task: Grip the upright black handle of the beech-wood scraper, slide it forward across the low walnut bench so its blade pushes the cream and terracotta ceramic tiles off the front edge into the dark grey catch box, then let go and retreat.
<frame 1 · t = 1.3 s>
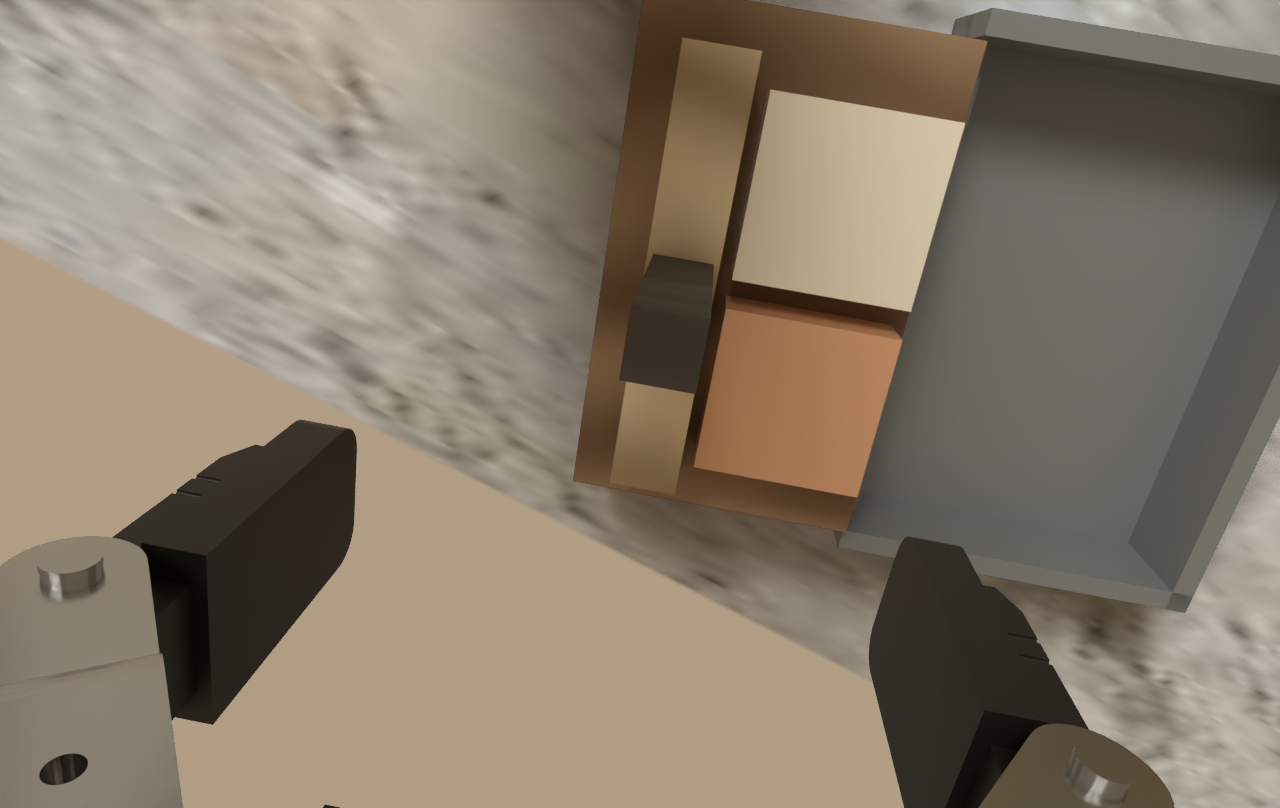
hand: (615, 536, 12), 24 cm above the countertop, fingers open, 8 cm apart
tile 1: (789, 387, 31), point 5 cm above the countertop, touching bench
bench: (751, 260, 34), on the countertop
scraper: (681, 273, 30), point 5 cm above the countertop, touching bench
tile 2: (835, 197, 28), point 5 cm above the countertop, touching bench
catch box: (1053, 313, 34), on the countertop
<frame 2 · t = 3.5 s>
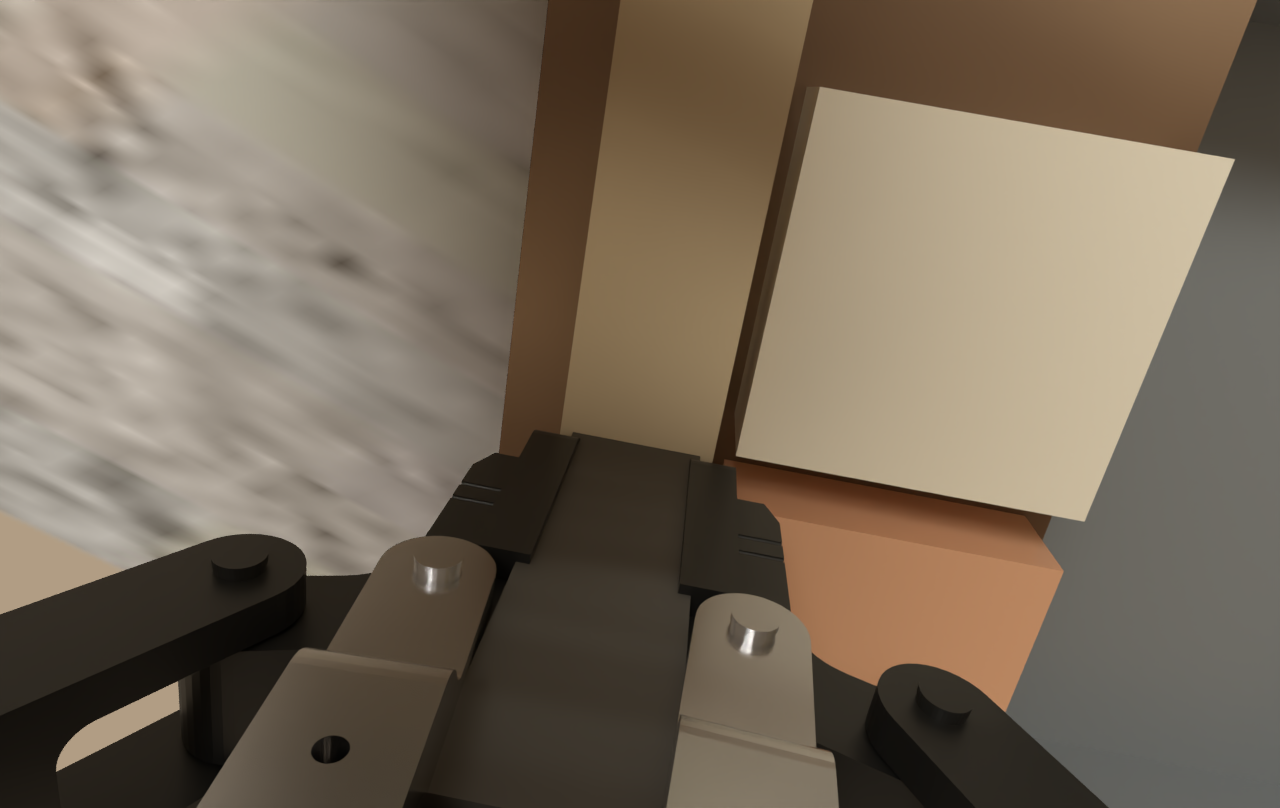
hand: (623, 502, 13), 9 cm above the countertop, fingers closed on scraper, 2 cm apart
tile 1: (836, 612, 17), point 5 cm above the countertop, touching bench
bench: (767, 365, 21), on the countertop
scraper: (641, 438, 15), point 6 cm above the countertop, touching gripper
tile 2: (932, 291, 15), point 5 cm above the countertop, touching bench
catch box: (1264, 457, 20), on the countertop
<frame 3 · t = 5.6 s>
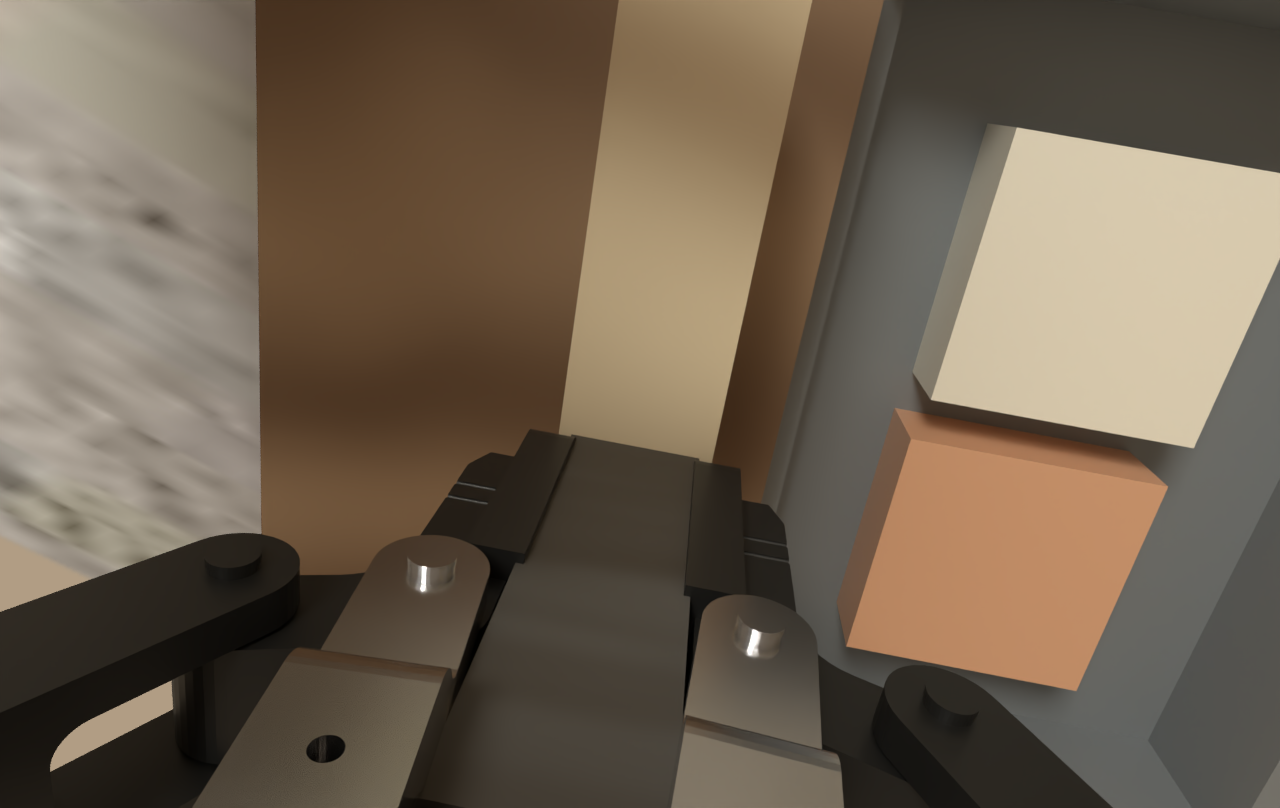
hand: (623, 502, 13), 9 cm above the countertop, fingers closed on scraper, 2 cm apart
tile 1: (997, 571, 20), point 3 cm above the countertop, tilted 180°, touching catch box
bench: (560, 317, 22), on the countertop
scraper: (640, 440, 15), point 7 cm above the countertop, touching gripper
tile 2: (1110, 297, 18), point 3 cm above the countertop, tilted 180°, touching catch box
catch box: (1034, 404, 21), on the countertop
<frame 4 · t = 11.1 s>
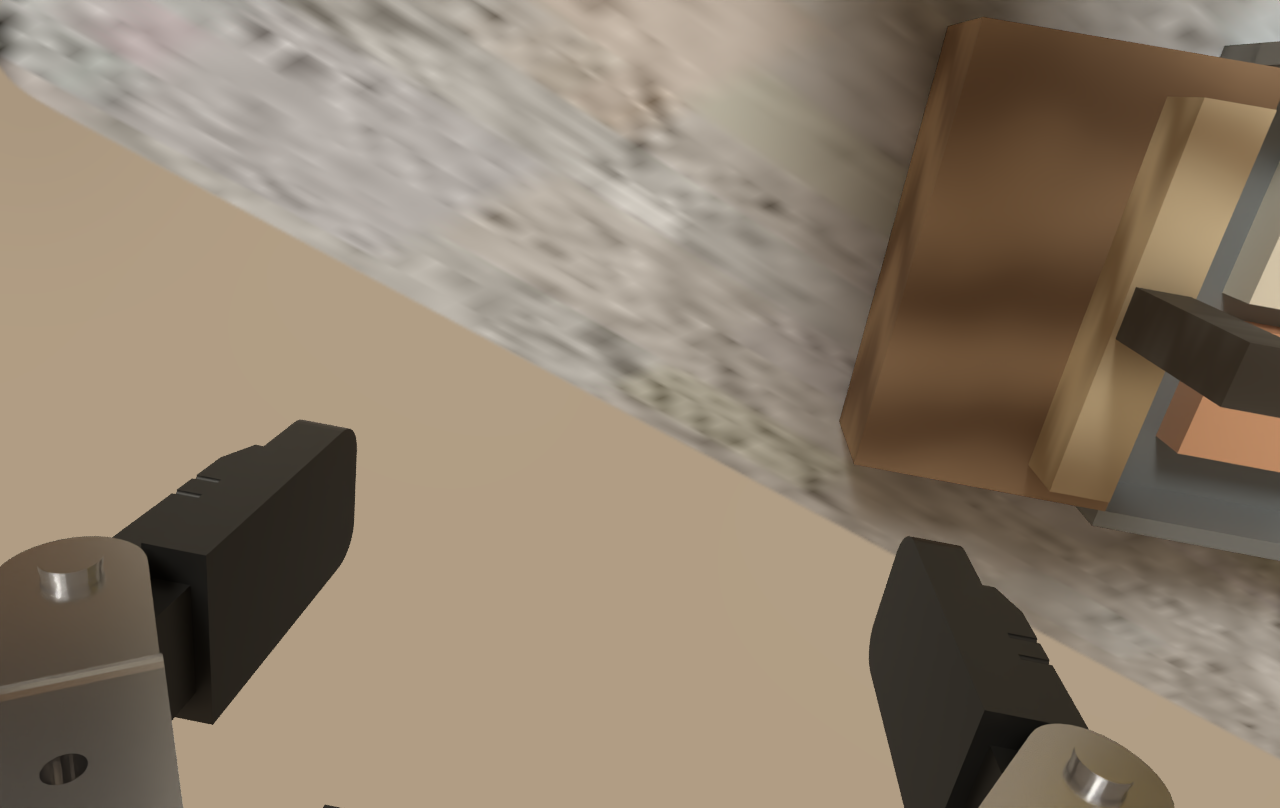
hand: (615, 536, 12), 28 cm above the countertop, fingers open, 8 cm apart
tile 1: (1274, 404, 36), point 3 cm above the countertop, tilted 180°, touching catch box
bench: (1009, 262, 37), on the countertop
scraper: (1122, 301, 33), point 5 cm above the countertop, touching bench
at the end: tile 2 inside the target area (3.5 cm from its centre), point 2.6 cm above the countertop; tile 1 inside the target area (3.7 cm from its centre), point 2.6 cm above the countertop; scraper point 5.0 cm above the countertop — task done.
